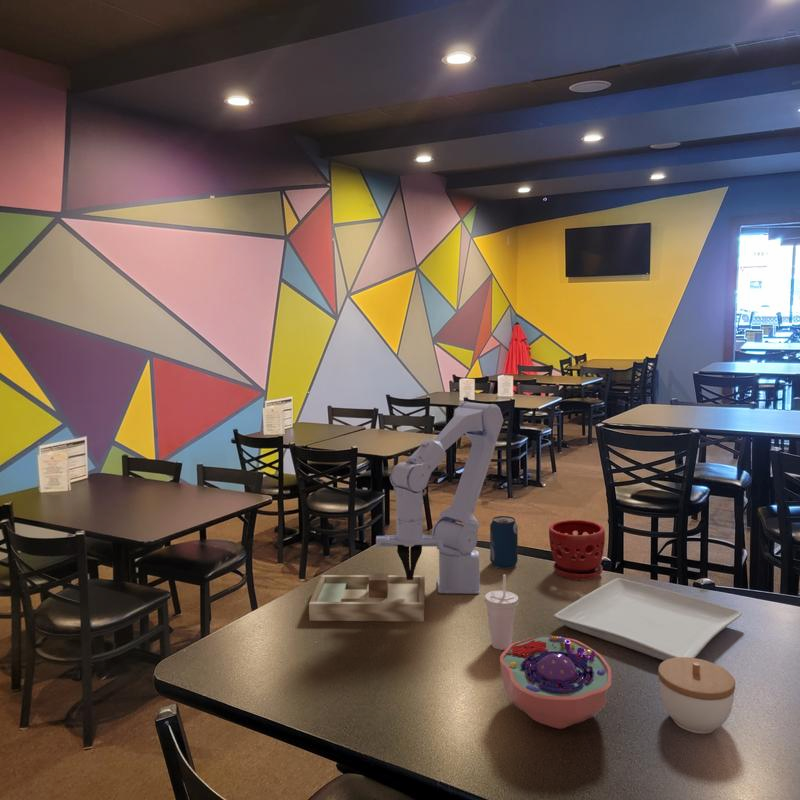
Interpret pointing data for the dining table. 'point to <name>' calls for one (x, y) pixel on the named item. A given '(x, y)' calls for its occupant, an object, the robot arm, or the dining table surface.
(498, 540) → the soda can
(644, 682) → the dining table surface
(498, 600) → the smoothie
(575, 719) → the cell model
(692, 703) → the lidded jar
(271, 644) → the dining table surface
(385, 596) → the walnut block
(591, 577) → the plant pot
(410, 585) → the box
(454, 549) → the robot arm
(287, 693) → the dining table surface
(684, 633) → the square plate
